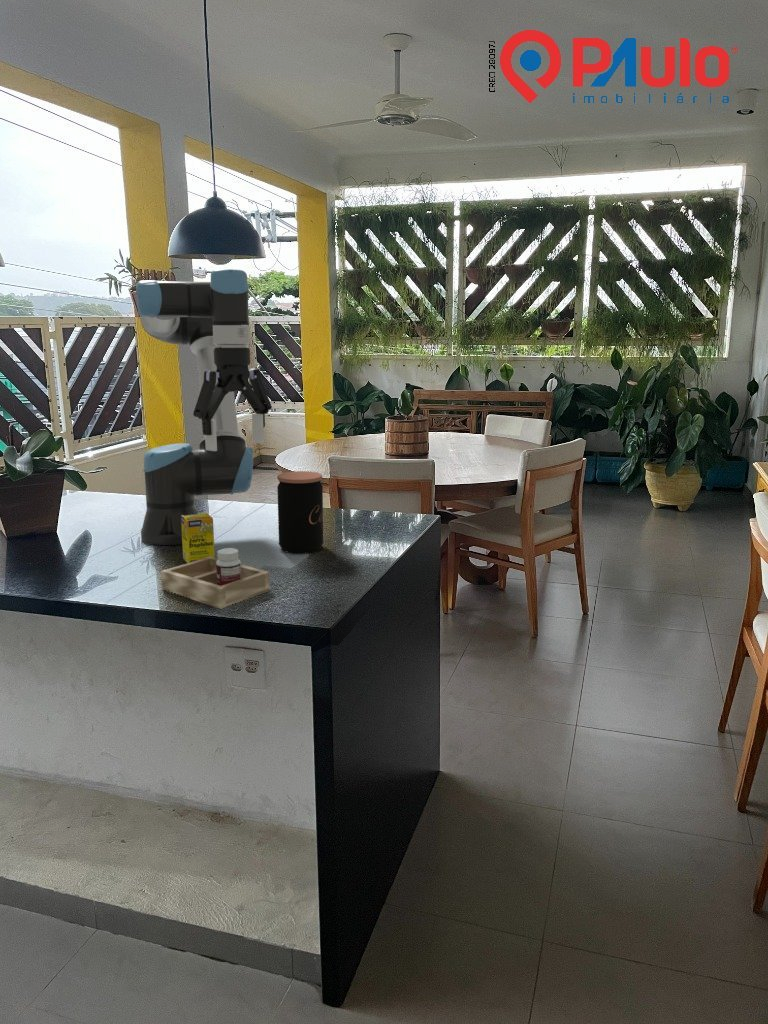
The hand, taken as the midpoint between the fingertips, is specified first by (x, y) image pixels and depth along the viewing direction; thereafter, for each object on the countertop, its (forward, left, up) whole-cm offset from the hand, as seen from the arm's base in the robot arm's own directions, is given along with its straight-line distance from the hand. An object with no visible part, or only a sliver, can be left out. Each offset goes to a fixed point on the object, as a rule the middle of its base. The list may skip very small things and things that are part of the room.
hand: (235, 446), depth 165 cm
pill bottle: (+13, -15, -26) cm, 33 cm away
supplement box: (-8, -5, -27) cm, 29 cm away
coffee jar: (+2, +18, -27) cm, 32 cm away
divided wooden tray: (+9, -15, -27) cm, 32 cm away
